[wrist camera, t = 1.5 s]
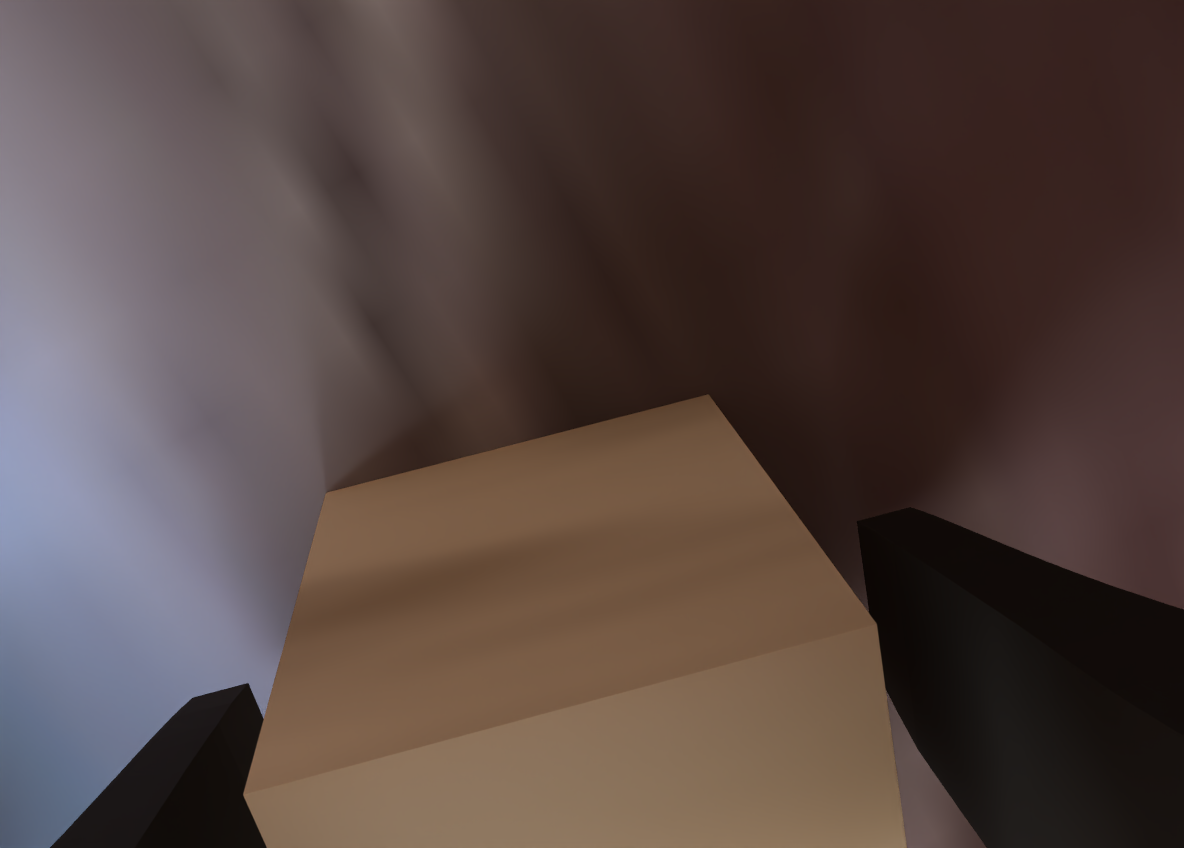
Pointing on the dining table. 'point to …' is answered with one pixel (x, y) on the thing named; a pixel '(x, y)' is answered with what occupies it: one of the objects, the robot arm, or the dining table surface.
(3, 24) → the dining table surface
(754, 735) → the maple block
